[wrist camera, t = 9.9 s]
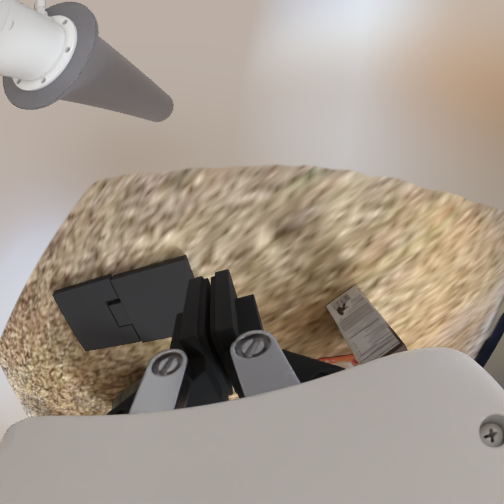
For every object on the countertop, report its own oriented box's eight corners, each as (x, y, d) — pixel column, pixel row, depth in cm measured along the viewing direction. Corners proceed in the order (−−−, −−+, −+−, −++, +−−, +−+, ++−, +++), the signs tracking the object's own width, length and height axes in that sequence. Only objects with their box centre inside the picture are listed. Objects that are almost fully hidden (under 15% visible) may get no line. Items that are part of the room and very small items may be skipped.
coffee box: (374, 316, 48) (419, 374, 33) (345, 336, 49) (383, 400, 34) (355, 283, 45) (406, 343, 30) (323, 306, 45) (363, 374, 31)
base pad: (56, 290, 39) (52, 294, 38) (111, 273, 39) (108, 278, 38) (87, 346, 44) (85, 351, 42) (142, 336, 44) (140, 341, 42)
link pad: (100, 279, 39) (97, 283, 38) (186, 254, 39) (185, 259, 38) (132, 339, 44) (130, 345, 43) (211, 322, 44) (211, 328, 43)
